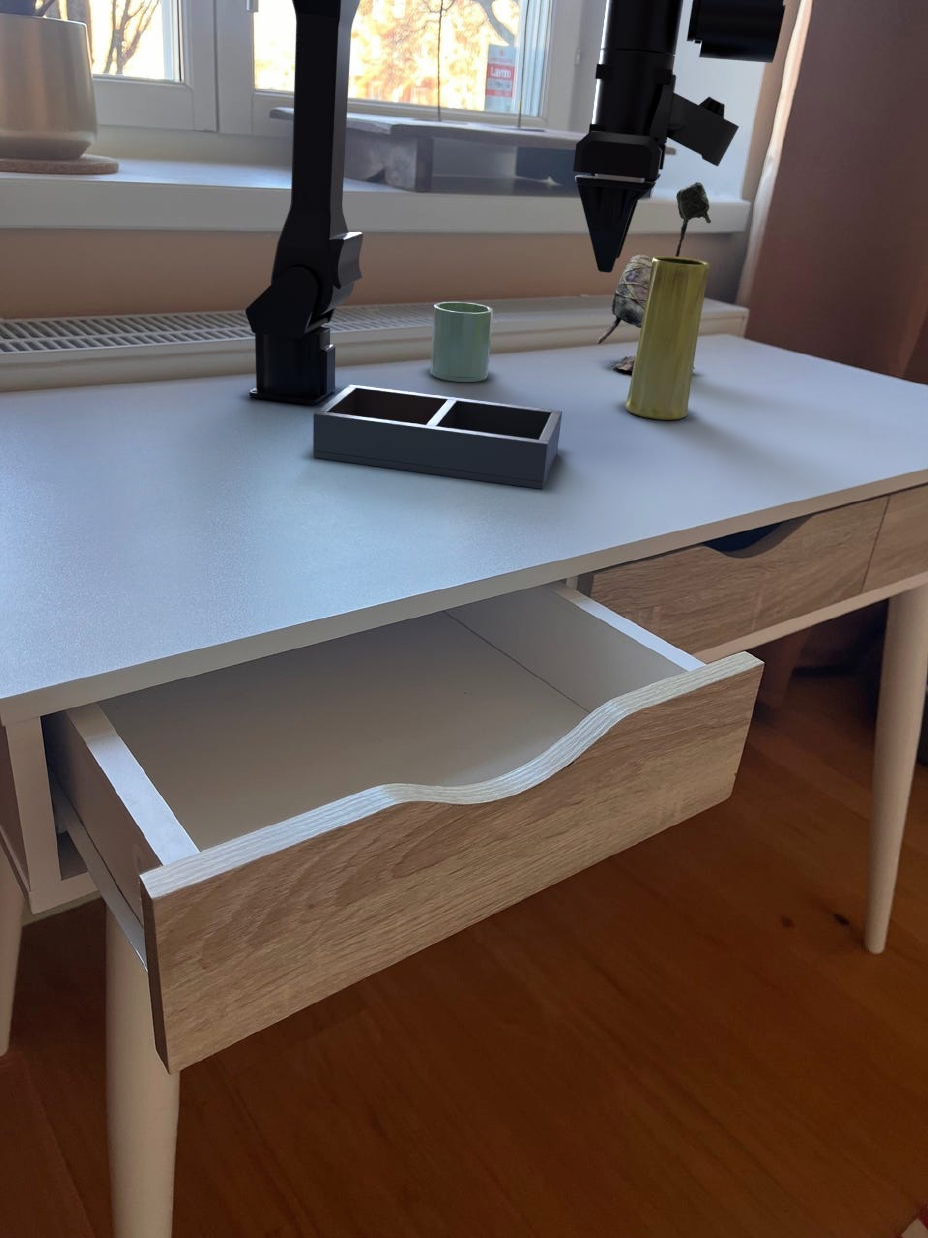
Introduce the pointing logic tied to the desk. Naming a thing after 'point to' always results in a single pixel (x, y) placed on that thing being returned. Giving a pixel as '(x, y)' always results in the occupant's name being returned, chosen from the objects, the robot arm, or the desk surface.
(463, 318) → the cup
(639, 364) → the vase
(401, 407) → the holder
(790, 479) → the desk surface
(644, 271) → the plant with pod
